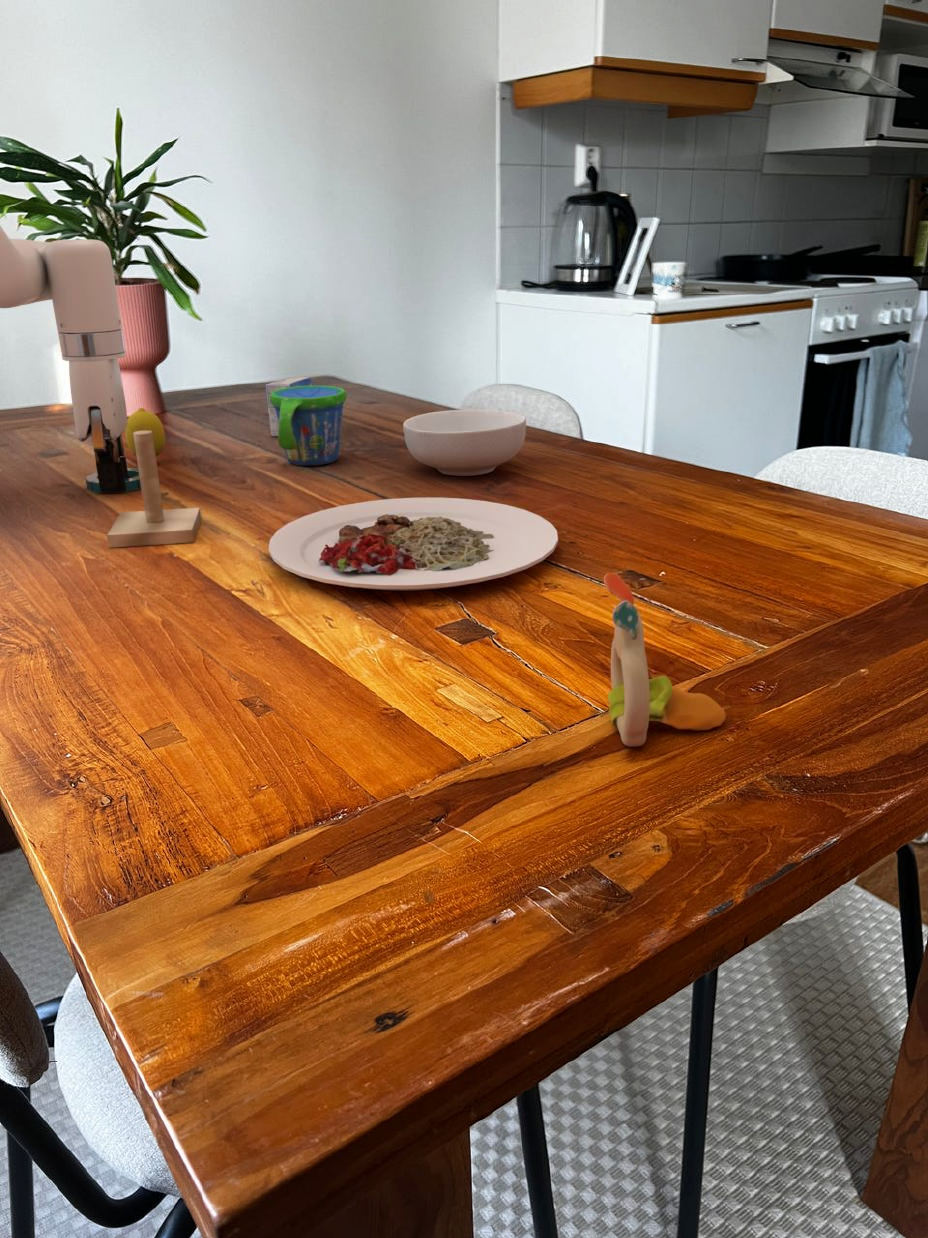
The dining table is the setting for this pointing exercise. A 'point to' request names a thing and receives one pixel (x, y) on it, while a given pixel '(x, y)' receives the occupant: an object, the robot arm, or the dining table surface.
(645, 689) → the rattle
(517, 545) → the plated food
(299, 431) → the snack cup
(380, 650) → the dining table surface
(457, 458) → the cereal bowl
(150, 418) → the lemon
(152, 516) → the stand
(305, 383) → the medicine box
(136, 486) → the ring
